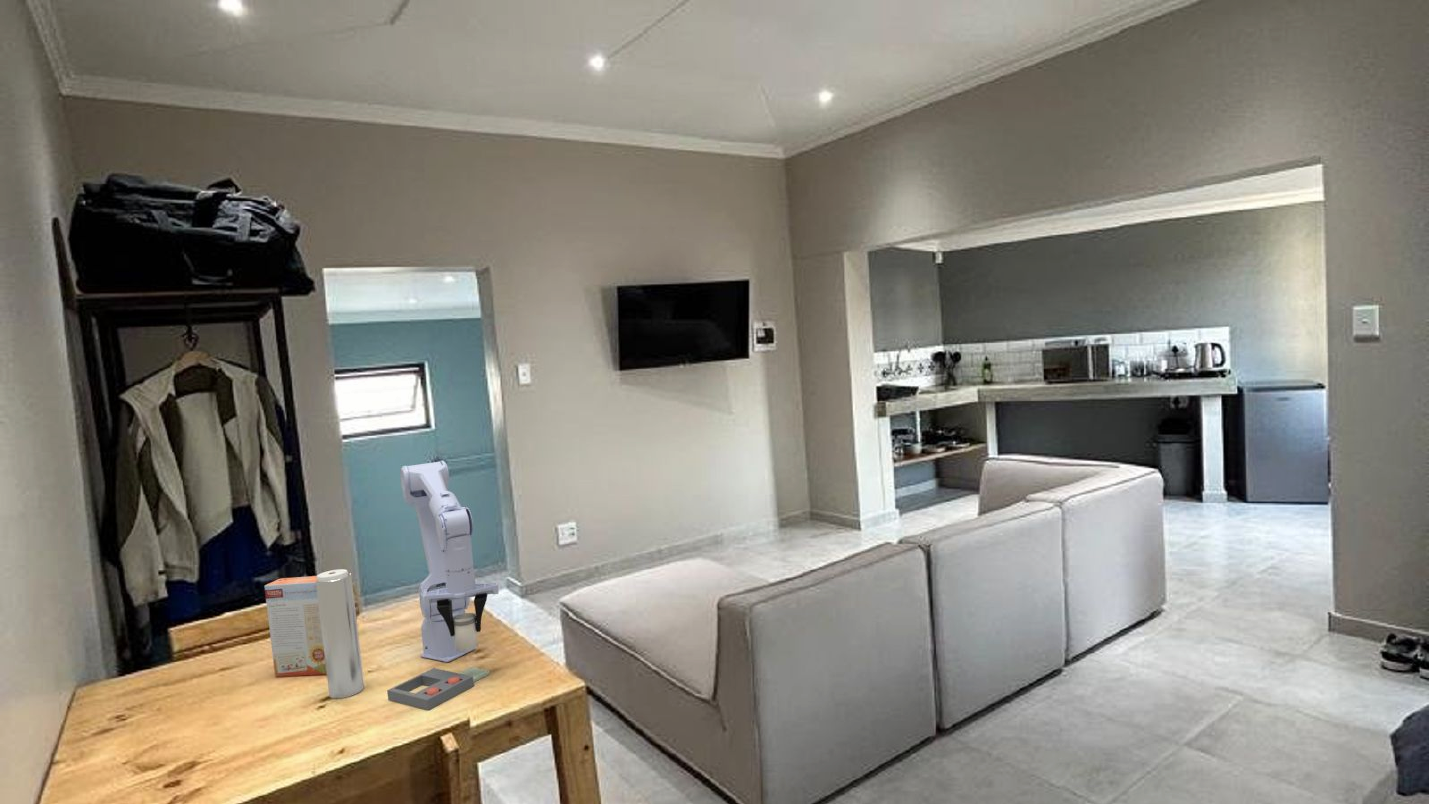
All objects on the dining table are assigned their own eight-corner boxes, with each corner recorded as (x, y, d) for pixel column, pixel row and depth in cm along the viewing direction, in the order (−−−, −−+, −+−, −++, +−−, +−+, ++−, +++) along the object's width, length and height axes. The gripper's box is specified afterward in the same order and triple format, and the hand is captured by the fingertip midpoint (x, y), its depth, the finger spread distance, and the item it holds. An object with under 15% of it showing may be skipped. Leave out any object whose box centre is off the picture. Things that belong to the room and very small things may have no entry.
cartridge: (456, 644, 156) (454, 614, 156) (479, 641, 157) (477, 611, 156) (453, 652, 151) (451, 621, 151) (477, 649, 152) (474, 618, 152)
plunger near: (425, 700, 144) (424, 690, 144) (434, 695, 146) (433, 686, 145) (432, 702, 143) (431, 692, 142) (442, 697, 144) (441, 687, 144)
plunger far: (446, 689, 148) (445, 680, 148) (455, 685, 150) (454, 675, 150) (453, 691, 147) (452, 681, 147) (462, 686, 149) (461, 677, 149)
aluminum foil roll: (350, 699, 149) (335, 576, 147) (321, 698, 150) (307, 577, 149) (371, 684, 155) (357, 567, 154) (344, 684, 156) (330, 568, 155)
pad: (451, 680, 154) (451, 677, 154) (471, 670, 158) (470, 667, 158) (470, 684, 151) (469, 681, 151) (489, 673, 155) (489, 671, 155)
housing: (388, 700, 147) (387, 690, 147) (434, 677, 156) (433, 668, 156) (428, 710, 140) (427, 700, 140) (473, 686, 150) (472, 676, 150)
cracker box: (349, 663, 168) (339, 573, 167) (333, 675, 162) (322, 581, 161) (292, 666, 169) (281, 576, 168) (274, 677, 163) (262, 584, 162)
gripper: (419, 578, 148) (426, 645, 148) (494, 567, 151) (501, 633, 152) (423, 569, 155) (430, 633, 155) (496, 559, 158) (502, 621, 159)
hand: (465, 632), depth 154 cm, fingers closed on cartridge, 4 cm apart
